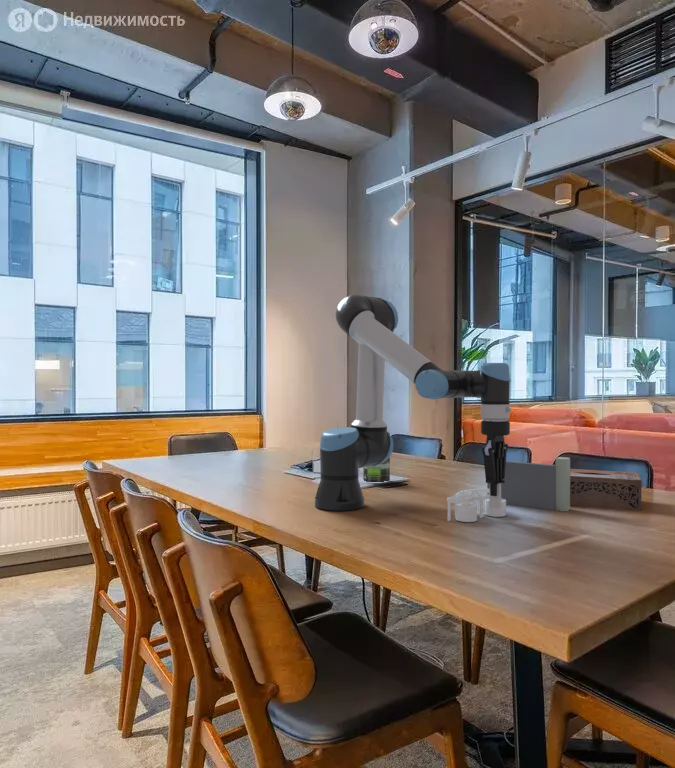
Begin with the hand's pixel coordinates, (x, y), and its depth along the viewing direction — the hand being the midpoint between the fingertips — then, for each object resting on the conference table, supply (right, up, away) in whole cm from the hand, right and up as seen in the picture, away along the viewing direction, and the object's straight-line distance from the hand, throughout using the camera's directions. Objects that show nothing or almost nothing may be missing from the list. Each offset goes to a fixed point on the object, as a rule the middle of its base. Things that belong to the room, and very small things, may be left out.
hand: (495, 507), depth 156 cm
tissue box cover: (+36, -5, +23) cm, 43 cm away
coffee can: (-28, -4, +62) cm, 68 cm away
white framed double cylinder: (-5, -5, +4) cm, 8 cm away
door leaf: (+14, -4, +17) cm, 23 cm away
